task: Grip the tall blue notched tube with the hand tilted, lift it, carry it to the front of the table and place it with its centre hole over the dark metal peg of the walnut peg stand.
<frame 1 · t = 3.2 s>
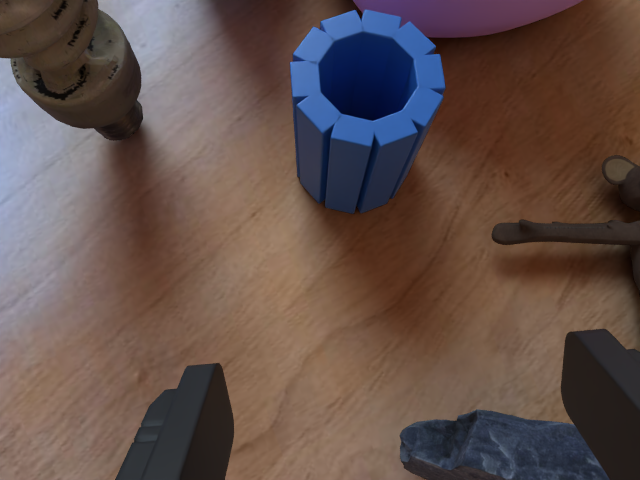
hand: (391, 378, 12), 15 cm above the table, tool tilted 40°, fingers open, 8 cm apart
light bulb: (124, 132, 29), on the table
stone: (528, 463, 25), on the table
blue notched tube: (351, 160, 29), on the table
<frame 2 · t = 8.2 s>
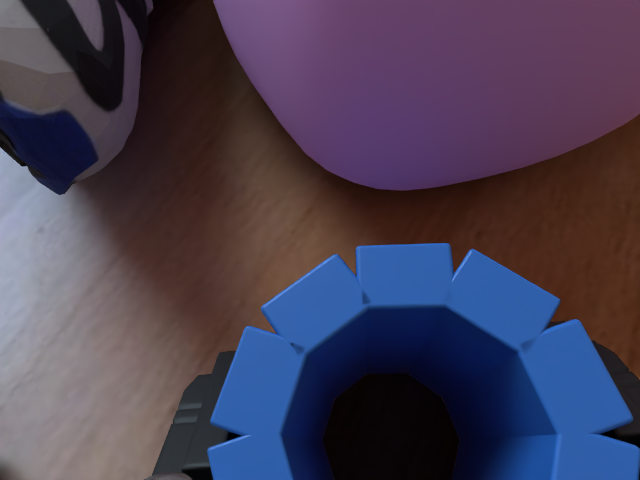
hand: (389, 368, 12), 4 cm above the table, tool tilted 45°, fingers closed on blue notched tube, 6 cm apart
teapot: (431, 29, 22), on the table, touching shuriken
blue notched tube: (390, 440, 16), on the table, touching gripper
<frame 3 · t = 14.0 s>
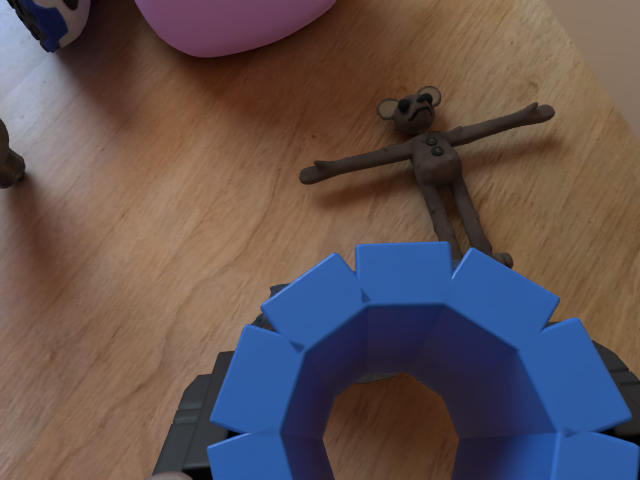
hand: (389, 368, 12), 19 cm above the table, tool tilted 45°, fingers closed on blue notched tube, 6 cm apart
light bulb: (16, 182, 37), on the table
stone: (365, 342, 31), on the table
blue notched tube: (390, 439, 16), point 14 cm above the table, touching gripper
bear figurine: (436, 189, 35), on the table
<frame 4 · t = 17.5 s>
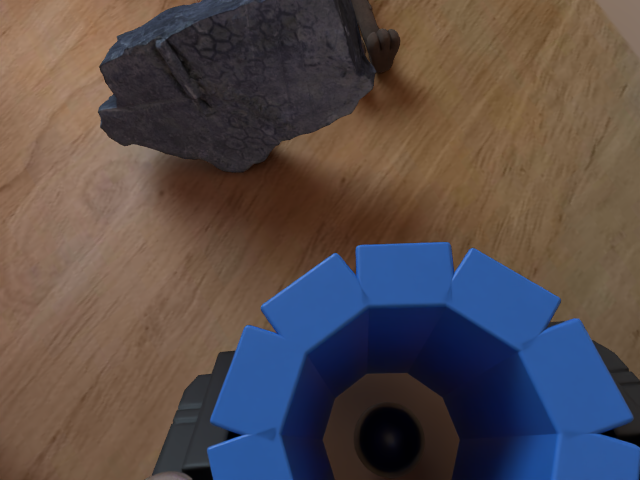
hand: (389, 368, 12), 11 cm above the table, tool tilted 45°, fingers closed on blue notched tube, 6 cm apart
peg stand: (381, 440, 22), on the table
stone: (246, 139, 29), on the table
blue notched tube: (390, 439, 16), point 7 cm above the table, touching gripper
when the fingers open (6 cm above the table, at t = 20.1 s): blue notched tube stays where it is, resting on peg stand.
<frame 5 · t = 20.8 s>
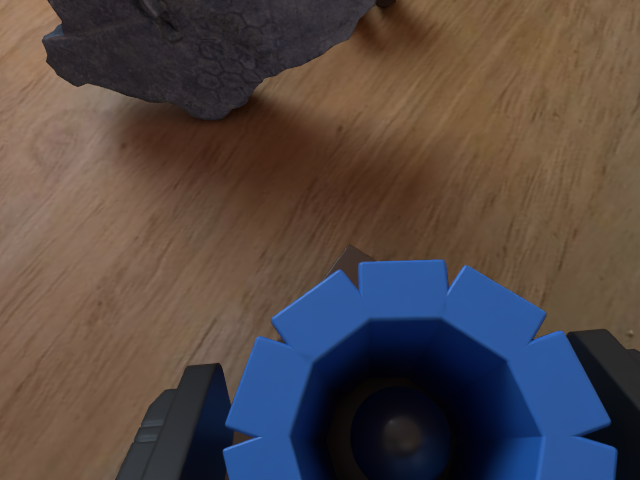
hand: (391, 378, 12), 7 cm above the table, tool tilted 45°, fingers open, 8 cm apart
peg stand: (387, 440, 17), on the table
stone: (226, 84, 24), on the table
blue notched tube: (390, 441, 16), point 1 cm above the table, touching peg stand
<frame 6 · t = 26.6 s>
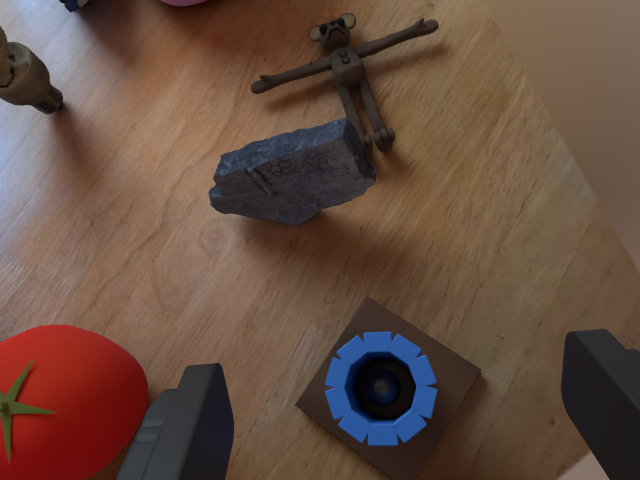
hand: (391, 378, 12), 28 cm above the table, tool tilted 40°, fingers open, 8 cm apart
tomato: (114, 403, 42), on the table
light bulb: (58, 110, 52), on the table
peg stand: (386, 387, 38), on the table
stone: (298, 200, 44), on the table
blue notched tube: (386, 388, 37), point 1 cm above the table, touching peg stand
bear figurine: (353, 91, 47), on the table
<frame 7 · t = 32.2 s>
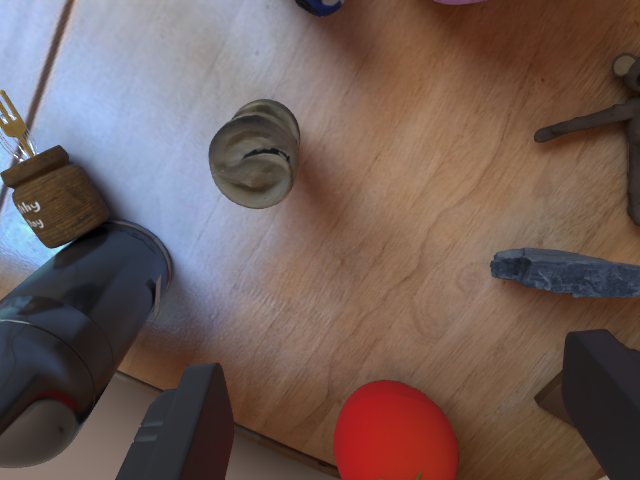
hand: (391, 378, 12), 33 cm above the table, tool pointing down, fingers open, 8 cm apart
tomato: (384, 398, 53), on the table
utensil holder: (82, 234, 43), point 3 cm above the table
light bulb: (272, 125, 42), on the table
peg stand: (601, 387, 52), on the table
stone: (556, 248, 47), on the table
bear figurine: (636, 133, 42), on the table
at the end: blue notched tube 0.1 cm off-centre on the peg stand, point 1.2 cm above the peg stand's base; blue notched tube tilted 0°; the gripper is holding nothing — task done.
